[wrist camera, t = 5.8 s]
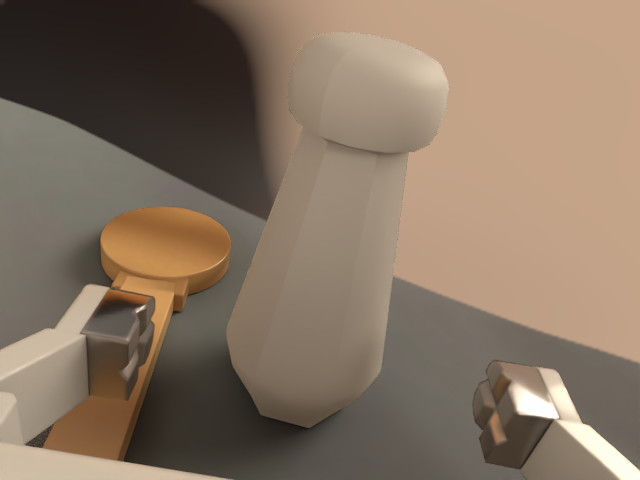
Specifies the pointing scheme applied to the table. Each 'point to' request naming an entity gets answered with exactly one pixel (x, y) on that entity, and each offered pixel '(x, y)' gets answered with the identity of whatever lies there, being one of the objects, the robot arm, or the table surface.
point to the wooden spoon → (170, 293)
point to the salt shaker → (334, 226)
